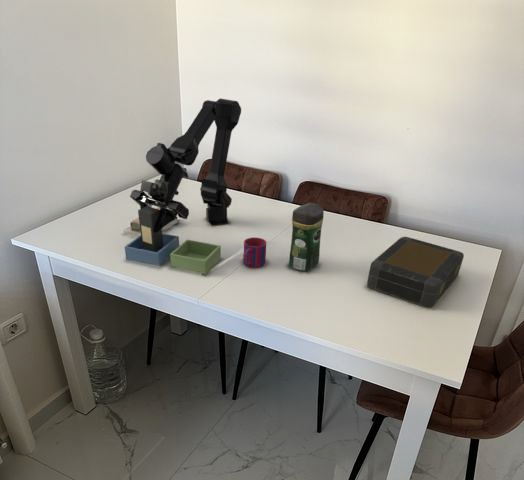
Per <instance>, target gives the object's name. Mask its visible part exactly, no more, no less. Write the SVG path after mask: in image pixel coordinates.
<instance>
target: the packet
mask: <svg viewBox="0 0 524 480" xmlns="http://www.w3.org/2000/svg"><path fill="white" fill-rule="evenodd" d="M137 215H138V218H139V223H140V231H141V240H142V248H144V249H147V250H150V251H153V252H156V251H158V250H160V249H162V248H163V247H164V246H163V236H162V233H163V231H162V229H160V230H159V231H158V232H157V233H155V232H154V227H155V225H156V223H157V220H158V218H159V216H160V210H159V209H157V208H156V207H153V206H152V207H149V206H146V207H144V208H142V209H141V208H140V209H137Z"/></svg>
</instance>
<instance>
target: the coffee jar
mask: <svg viewBox="0 0 524 480" xmlns="http://www.w3.org/2000/svg"><path fill="white" fill-rule="evenodd" d="M324 214H325V212H324V208H323V207H322V205H321V204H318V203H313V202H308V203H304V204H302V205H300V206H298V207H296V208H294V210H293V211H292V215H291V224H292V226H291V227H292V229H291V230H292V232H291V242H290V250H289V257H288V266H289V267H290V268H292V269H293V270H295V271H298V272H309V271H311V270H313V269H315V268H316V267H317V265H319V262H320V251H321V237H322V236H321V235H322V226H323V223H324Z"/></svg>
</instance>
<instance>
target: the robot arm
mask: <svg viewBox="0 0 524 480" xmlns="http://www.w3.org/2000/svg"><path fill="white" fill-rule="evenodd" d="M241 114H242V107H241V105H240V103H239V101H237V100H233V99H228V98H227V99H226V98H218V99H217V100H209V99H207V100H204V101H203V103H202V106H201V109H200V110H199V112H198V113H197V115H196V116H195V118H194V119H193V121H192V122H191V124H190V126H189V127H188V128H187V130H186V132H185V133H184V134H182V135H181V136H178V137H177V138H176V139H175V140H173V142H172V143H171V144H170V146H169V147H167V145H165V144H164V143H161V142H157V143H156V145H155V146H153V147H151V148H150V149H149V150H148V151H147V152H146V155H145V160H146V162H147V163H148V165H150V166H151V168H153V169H154V170H155V172H157V174H159V175H160V178H159V179H158V178H157V179H155V180H154V182H151V181H148V180H144V179H142V180H141V185H140V190H139V189H133V190H132V191H131V193H130V195H129V198H131V199H132V200H133V201H134V202H135V203H136V204H137V205H139V207H140V209H142V208H144V207H146V206H149V207H152V208H153V206H154V207H157V208H159V207H160V216H159V218H158V220H157V223H156V225H155V227H154V232H155V233H157V232H158V231H159V230H160V229H162V228H163V227H164V226H165V225H167V224H168V223H170V222H171V221H173V220H174V219H178V217H179V218H181V219H183V220H187V219H188V217H189V216H190V211H189V210H190V209H188V208H187V207H186V205H185V204H183V203H182V202H181V201H178V200H174V197H175V196H178V195H179V194H180V193H179V191H178V189H179V186H180V184H181V182H182V180H183V178H186V179H188V178H189V174H188V171H187V168H186V167H182V166H181V165H183V166H192V165H194V163H195V162H196V159H197V157H198V155H199V151H200V150H199V146H200V144H201V142H202V140H203V139H204V138H205V136H206V134H207V133H208V131H209V129H210V128H211V127H212V124H213V123H214V124H215V127H216V130H215V137H214V141H213V149H212V154H211V159H210V166H209V172H208V174H207V176H206V177H202V179H201V186H200V188H199V190H200V197H201V199H202V202H203V204H204V205H205V204H206V205H207V206H206V208H205V219H206V221H207V222H208V223H209V224H210V225H211V226H216V225H218V226H219V225H226V224H229V223H230V222H229V220H228V208H230V206H231V205H232V200H233V199H232V197H231V196H230V195H229V194H228V192H227V190H228V189H227V188H228V185H227V182H226V179H225V172H226V167H227V160H228V156H229V155H228V154H229V149H230V143H231V138H232V132H233V130H234V129H235V128H236V127H237V125H238V124H239V121H240V117H241Z"/></svg>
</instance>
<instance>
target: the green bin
mask: <svg viewBox="0 0 524 480" xmlns="http://www.w3.org/2000/svg"><path fill="white" fill-rule="evenodd" d="M221 247H222V246H221V245H219V244H213V243H209V242H202V241H197V240H192V239H186V240H185V241H183V243H181V244H179V247H178V248H177V249H176V250H174V251H173V252H172V253H171V254H170V257H169V258H170V268H175V269H180V270H184V271H185V270H186V271H189V272H194V273H200V274H201V276H207V275H208V274H209V273H210V272H211V271H212V270H213V268H214V267H215V265H216V264H217V263H218V262H219V260H221V258H222V255H221V253H222V252H221V251H222V248H221Z"/></svg>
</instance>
